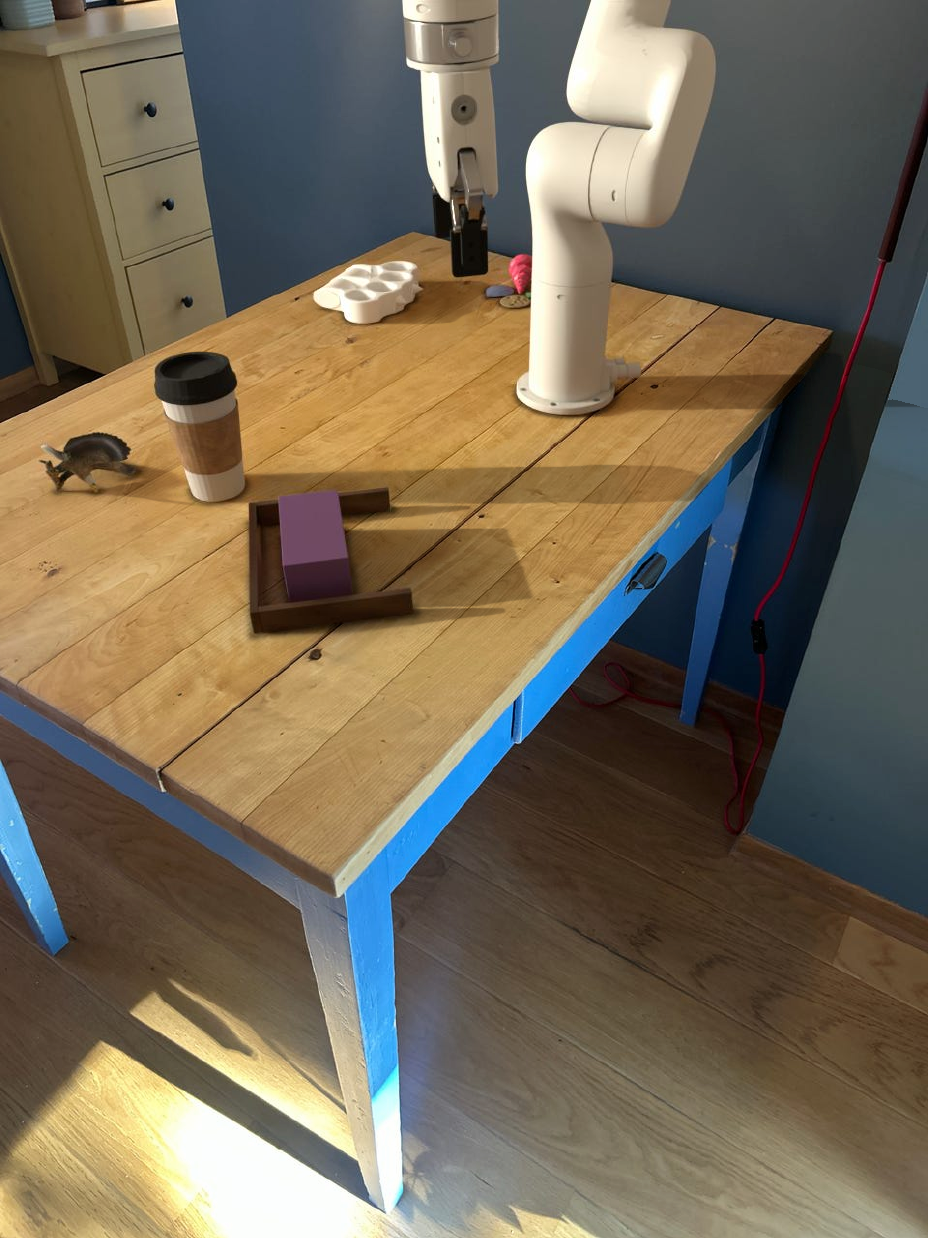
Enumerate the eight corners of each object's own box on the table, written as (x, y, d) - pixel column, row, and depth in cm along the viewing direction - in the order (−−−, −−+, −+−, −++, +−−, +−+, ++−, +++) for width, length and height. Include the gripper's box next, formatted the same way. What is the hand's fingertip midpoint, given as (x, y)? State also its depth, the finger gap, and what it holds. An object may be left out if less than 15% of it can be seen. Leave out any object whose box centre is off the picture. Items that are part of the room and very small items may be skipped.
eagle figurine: (66, 506, 101) (142, 467, 104) (29, 446, 99) (107, 408, 102) (67, 508, 108) (138, 472, 111) (32, 453, 106) (105, 417, 109)
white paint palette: (358, 274, 155) (439, 286, 151) (304, 315, 143) (390, 329, 138) (357, 254, 153) (438, 265, 149) (301, 293, 140) (389, 306, 136)
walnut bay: (389, 506, 102) (388, 486, 100) (413, 613, 88) (411, 592, 86) (252, 522, 100) (248, 502, 98) (253, 634, 86) (249, 613, 84)
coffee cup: (220, 516, 101) (191, 388, 91) (164, 494, 104) (131, 369, 95) (271, 480, 106) (250, 356, 97) (216, 461, 110) (190, 339, 100)
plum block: (342, 529, 99) (337, 489, 95) (353, 599, 90) (348, 557, 86) (285, 536, 98) (278, 495, 95) (290, 607, 89) (282, 565, 86)
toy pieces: (476, 283, 152) (476, 255, 149) (542, 275, 153) (543, 248, 151) (495, 310, 143) (495, 282, 140) (565, 302, 145) (566, 274, 142)
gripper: (522, 60, 69) (521, 286, 81) (477, 17, 82) (481, 218, 93) (421, 68, 68) (435, 296, 80) (392, 24, 81) (407, 226, 93)
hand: (460, 254), depth 87 cm, fingers open, 9 cm apart
